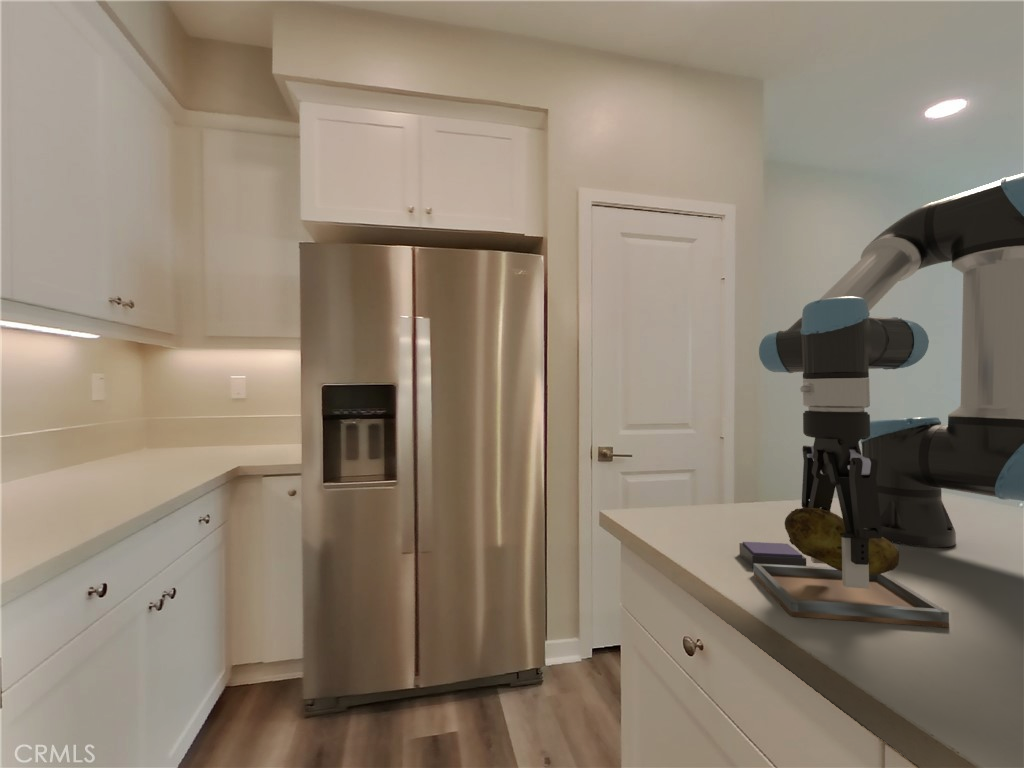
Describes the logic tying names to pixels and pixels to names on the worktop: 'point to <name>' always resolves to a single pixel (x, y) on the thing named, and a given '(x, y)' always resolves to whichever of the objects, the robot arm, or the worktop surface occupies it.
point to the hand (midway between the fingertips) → (837, 573)
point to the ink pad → (771, 554)
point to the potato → (834, 540)
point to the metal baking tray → (847, 596)
